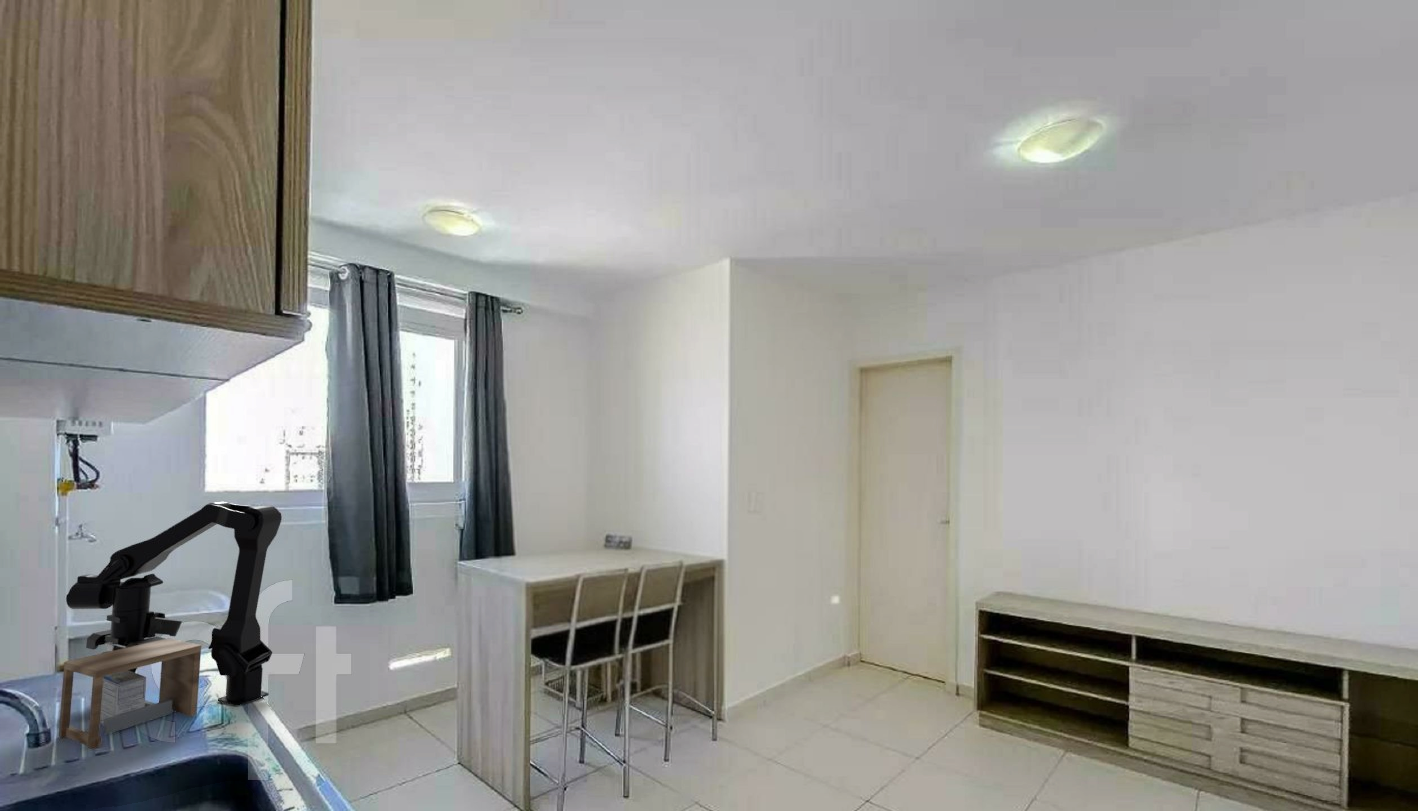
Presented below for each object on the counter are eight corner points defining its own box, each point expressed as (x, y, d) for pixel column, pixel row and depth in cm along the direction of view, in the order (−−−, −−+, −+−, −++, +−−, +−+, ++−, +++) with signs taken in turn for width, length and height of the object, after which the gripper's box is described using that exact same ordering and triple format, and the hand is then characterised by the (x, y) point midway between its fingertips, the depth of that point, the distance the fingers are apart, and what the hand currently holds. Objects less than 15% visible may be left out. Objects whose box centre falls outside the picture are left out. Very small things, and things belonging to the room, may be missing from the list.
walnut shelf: (196, 714, 123) (201, 645, 124) (90, 749, 109) (96, 671, 109) (164, 704, 128) (169, 638, 128) (58, 737, 113) (64, 661, 114)
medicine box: (144, 723, 119) (147, 676, 120) (113, 732, 115) (117, 683, 116) (125, 714, 123) (128, 669, 123) (95, 723, 119) (98, 676, 119)
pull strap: (177, 712, 123) (179, 680, 124) (105, 735, 113) (108, 700, 114) (113, 692, 132) (116, 663, 133) (42, 712, 122) (45, 680, 123)
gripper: (202, 605, 134) (197, 680, 133) (152, 595, 141) (147, 667, 140) (138, 617, 124) (131, 699, 123) (88, 606, 131) (81, 684, 130)
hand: (125, 686), depth 129 cm, fingers closed
